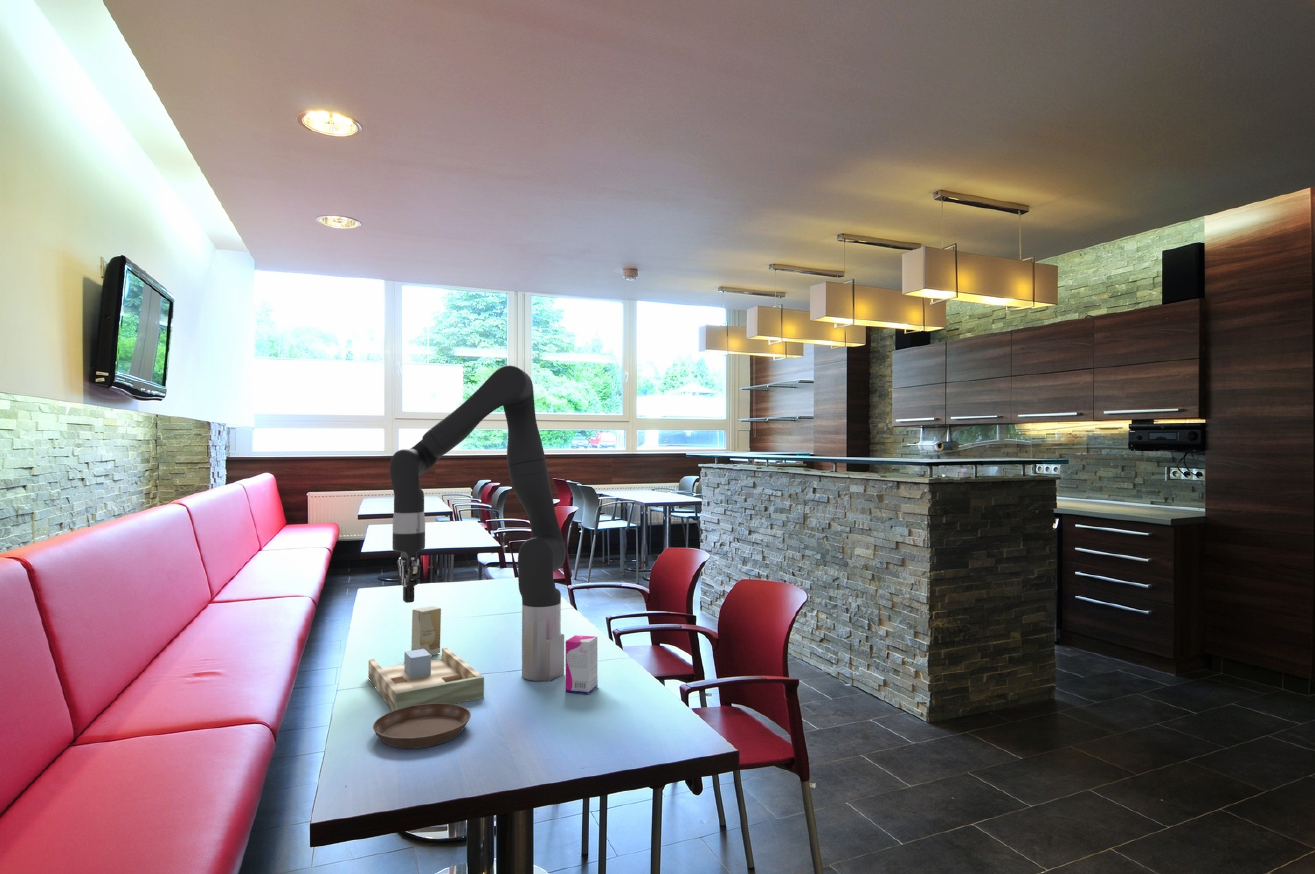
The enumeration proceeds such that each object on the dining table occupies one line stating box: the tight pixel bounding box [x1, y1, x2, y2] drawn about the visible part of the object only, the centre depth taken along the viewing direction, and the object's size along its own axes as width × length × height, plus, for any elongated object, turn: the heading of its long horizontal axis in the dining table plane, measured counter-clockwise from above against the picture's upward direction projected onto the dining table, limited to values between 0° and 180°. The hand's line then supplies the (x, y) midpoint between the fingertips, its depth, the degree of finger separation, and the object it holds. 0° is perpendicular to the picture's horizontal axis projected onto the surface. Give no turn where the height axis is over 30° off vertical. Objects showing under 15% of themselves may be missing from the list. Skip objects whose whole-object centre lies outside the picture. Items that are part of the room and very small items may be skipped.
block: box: [403, 649, 432, 678], centre depth 162 cm, size 6×4×4 cm
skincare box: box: [410, 605, 442, 657], centre depth 183 cm, size 6×4×12 cm
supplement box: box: [565, 634, 599, 695], centre depth 157 cm, size 6×6×12 cm
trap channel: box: [367, 647, 485, 712], centre depth 158 cm, size 27×18×4 cm
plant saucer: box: [372, 703, 472, 749], centre depth 133 cm, size 18×18×3 cm
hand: (408, 601), depth 170 cm, fingers closed
